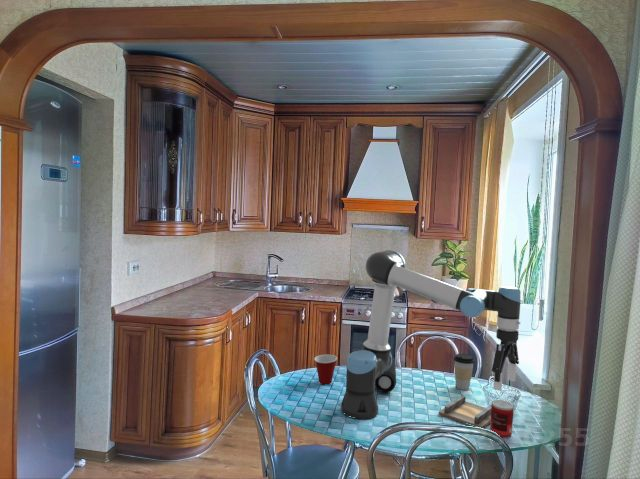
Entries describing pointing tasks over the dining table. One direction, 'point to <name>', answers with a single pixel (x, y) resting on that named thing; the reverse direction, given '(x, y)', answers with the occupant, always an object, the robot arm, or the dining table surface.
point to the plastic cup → (325, 367)
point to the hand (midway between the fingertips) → (504, 385)
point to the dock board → (467, 412)
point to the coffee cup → (463, 370)
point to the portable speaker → (387, 379)
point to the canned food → (501, 418)
